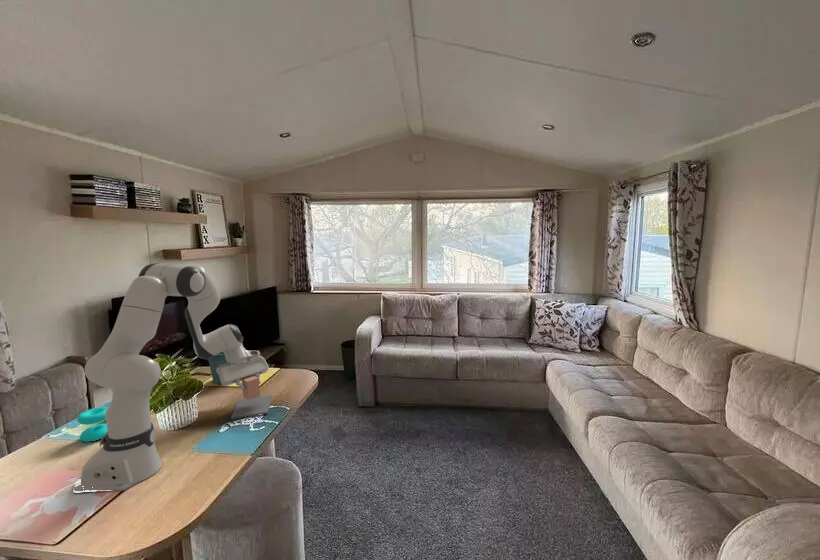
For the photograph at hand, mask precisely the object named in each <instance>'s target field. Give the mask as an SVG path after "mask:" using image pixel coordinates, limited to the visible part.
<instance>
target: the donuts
mask: <svg viewBox="0 0 820 560" xmlns="http://www.w3.org/2000/svg"><path fill="white" fill-rule="evenodd" d="M108 407H109V406H108ZM108 407H107V406H99V407H97V406H96V407H93V408H90V409H87V410H85V411H84V412H81V413H80V414H78V416H77V419H76V420H77V422H78V423H79V424H81V425H84V426H85V425H88V426H90V427H88V428H86V429H84V430H83V431H82V432H81V433H80V436H79V439H80V440H81V442H83V441H84V442H83V443H90V442H89V441H94V440H98V441H100V440H99V439H101V440H102V438H103V437H104V436H105V435H106V432H108V430H107V423H101V422H104V421H106V416H105V413H106V410H107V408H108ZM98 423H99V424H98ZM91 425H92V426H91ZM94 442H95V441H94Z"/></svg>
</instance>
